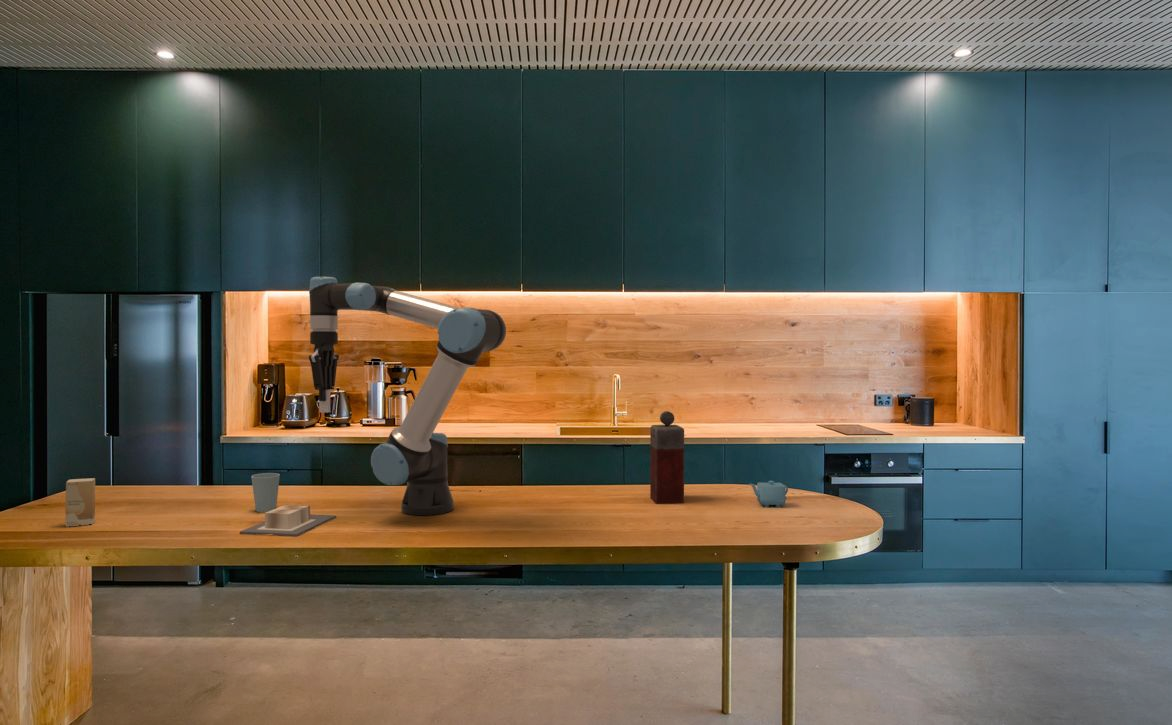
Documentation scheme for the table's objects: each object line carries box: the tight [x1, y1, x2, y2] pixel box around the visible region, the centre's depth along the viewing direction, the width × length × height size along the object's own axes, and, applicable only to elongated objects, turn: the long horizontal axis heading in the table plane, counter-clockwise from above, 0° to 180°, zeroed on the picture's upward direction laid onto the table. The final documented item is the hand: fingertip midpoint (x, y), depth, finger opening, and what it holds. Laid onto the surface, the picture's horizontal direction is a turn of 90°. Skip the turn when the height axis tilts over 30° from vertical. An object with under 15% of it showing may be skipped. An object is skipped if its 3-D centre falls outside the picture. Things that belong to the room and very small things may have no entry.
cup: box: [251, 472, 281, 513], centre depth 211 cm, size 8×8×10 cm
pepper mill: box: [649, 410, 685, 505], centre depth 225 cm, size 9×11×28 cm
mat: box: [239, 513, 337, 537], centre depth 194 cm, size 16×20×1 cm
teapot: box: [748, 480, 789, 508], centre depth 217 cm, size 12×6×8 cm, turn 88°
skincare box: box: [65, 477, 96, 528], centre depth 195 cm, size 6×4×12 cm
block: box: [264, 504, 311, 529], centre depth 193 cm, size 7×4×10 cm
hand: (324, 412), depth 207 cm, fingers closed
